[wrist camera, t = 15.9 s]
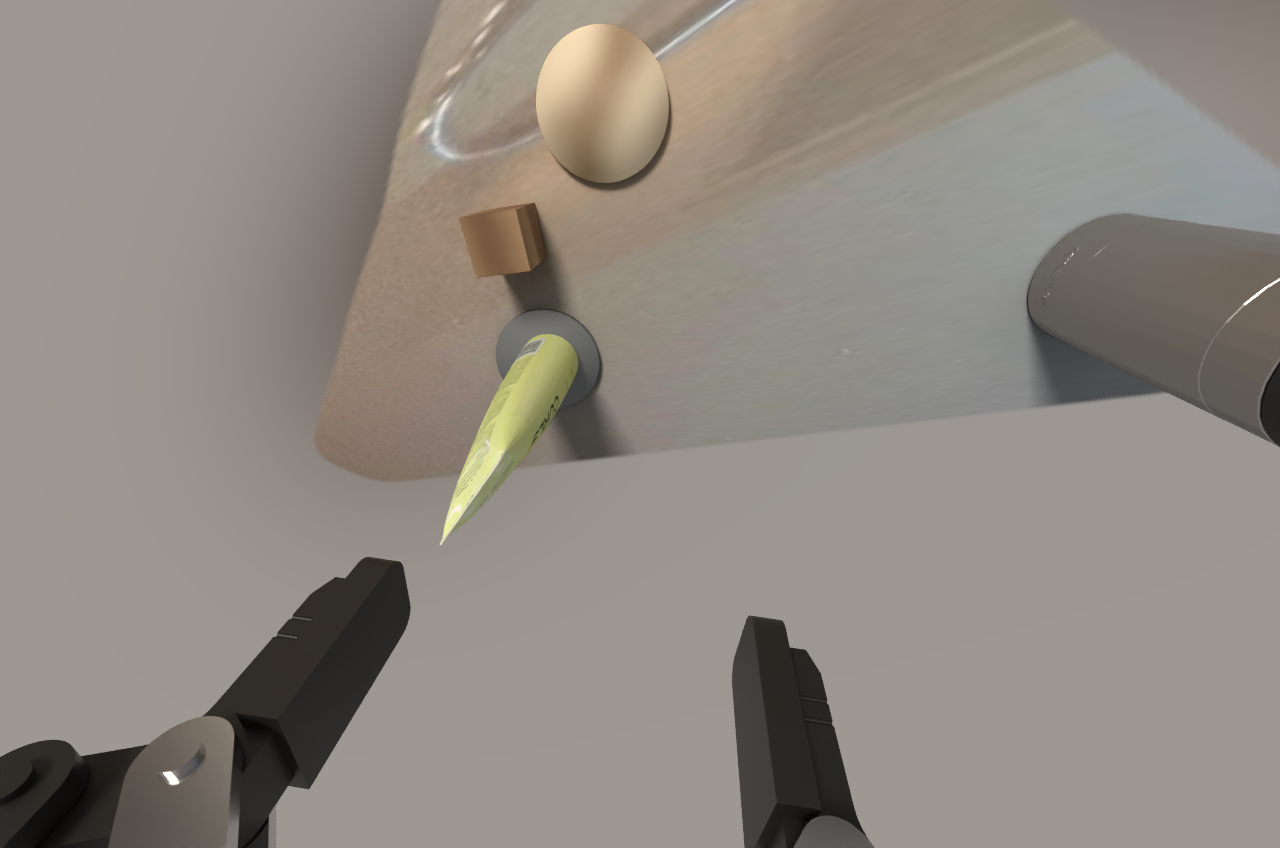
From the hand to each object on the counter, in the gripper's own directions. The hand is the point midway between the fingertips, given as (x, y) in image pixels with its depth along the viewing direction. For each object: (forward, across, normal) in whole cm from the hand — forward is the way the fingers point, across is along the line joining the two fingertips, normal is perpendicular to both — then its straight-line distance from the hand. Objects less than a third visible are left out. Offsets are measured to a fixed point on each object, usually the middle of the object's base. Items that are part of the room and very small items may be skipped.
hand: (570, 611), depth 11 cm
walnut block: (+32, +11, -3) cm, 34 cm away
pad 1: (+32, +9, +7) cm, 34 cm away
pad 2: (+32, +5, -12) cm, 34 cm away
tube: (+31, +8, +7) cm, 33 cm away
